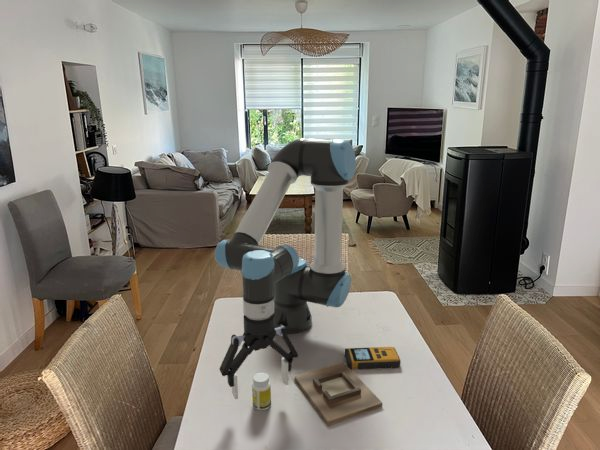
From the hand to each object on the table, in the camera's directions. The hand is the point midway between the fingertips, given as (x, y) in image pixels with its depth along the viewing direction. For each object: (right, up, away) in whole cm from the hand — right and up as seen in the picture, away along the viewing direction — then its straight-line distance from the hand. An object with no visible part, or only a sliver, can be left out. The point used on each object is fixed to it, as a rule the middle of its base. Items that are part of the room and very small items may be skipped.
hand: (260, 388), depth 113 cm
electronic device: (+32, 0, +21) cm, 38 cm away
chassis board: (+20, -3, +6) cm, 21 cm away
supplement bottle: (0, -5, +2) cm, 5 cm away
